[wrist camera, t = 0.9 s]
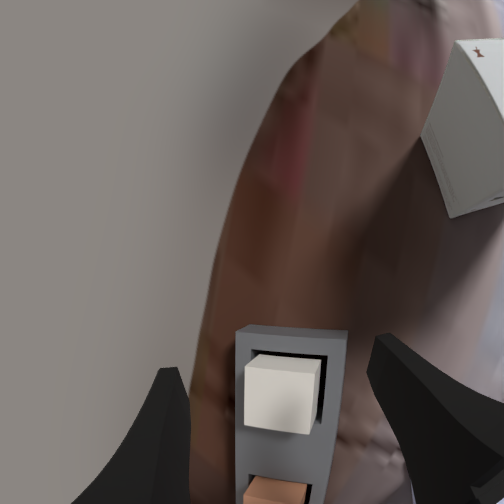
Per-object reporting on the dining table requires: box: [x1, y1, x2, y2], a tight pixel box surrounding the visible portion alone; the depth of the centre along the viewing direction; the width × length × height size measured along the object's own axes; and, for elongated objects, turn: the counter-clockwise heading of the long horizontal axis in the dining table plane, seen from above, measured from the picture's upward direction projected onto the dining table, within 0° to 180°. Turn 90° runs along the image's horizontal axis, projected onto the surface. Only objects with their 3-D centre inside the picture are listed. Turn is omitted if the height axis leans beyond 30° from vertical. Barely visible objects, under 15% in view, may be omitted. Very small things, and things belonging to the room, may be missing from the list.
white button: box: [244, 354, 321, 435], centre depth 20 cm, size 5×5×3 cm
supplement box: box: [420, 38, 504, 219], centre depth 13 cm, size 7×7×13 cm
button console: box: [235, 324, 348, 504], centre depth 22 cm, size 20×8×3 cm, turn 178°
